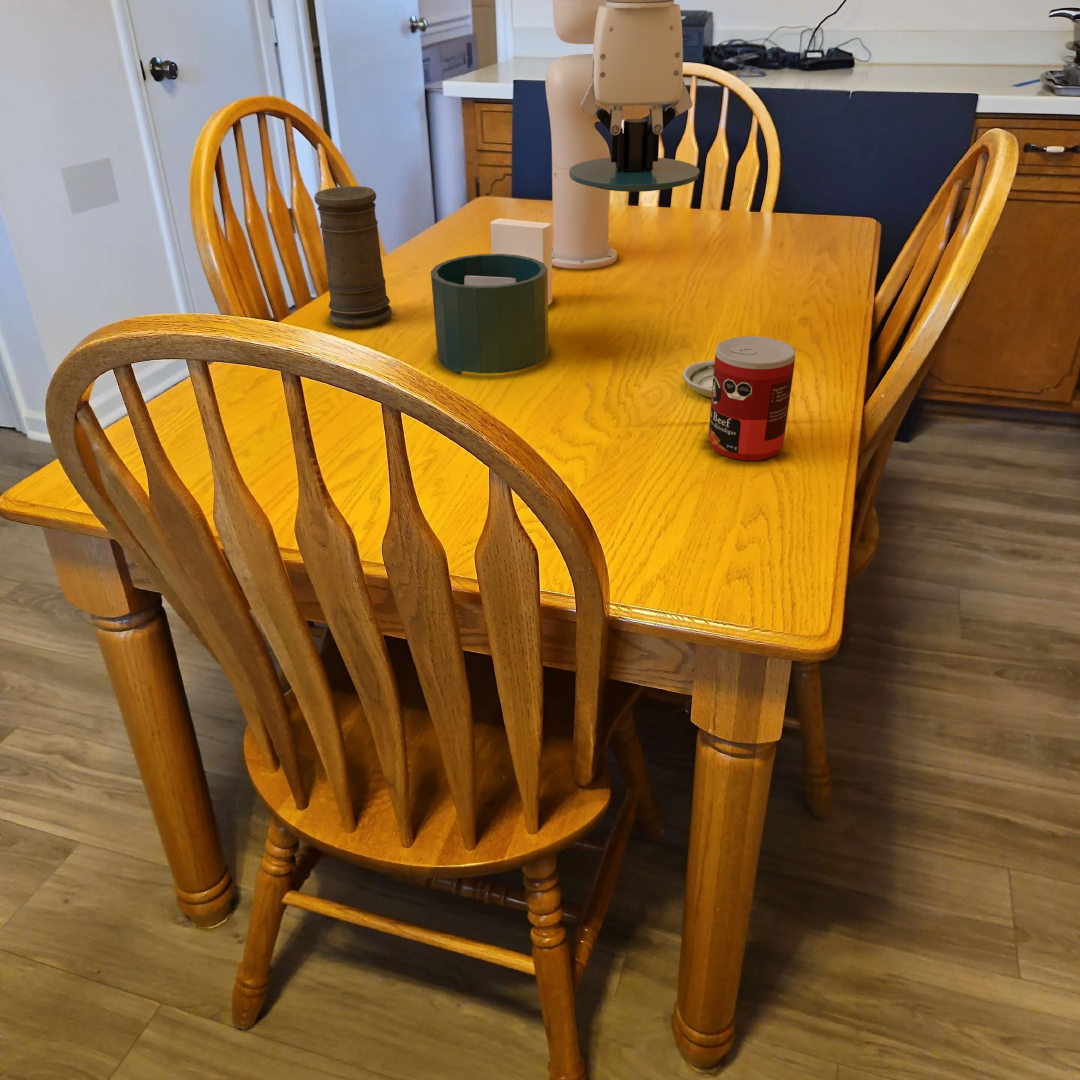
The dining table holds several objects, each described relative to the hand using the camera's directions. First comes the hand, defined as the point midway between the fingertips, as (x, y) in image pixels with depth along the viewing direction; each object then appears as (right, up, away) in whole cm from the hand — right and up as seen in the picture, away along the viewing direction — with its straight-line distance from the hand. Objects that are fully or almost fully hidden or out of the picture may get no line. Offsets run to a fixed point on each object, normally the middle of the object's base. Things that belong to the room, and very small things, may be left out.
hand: (633, 166), depth 111 cm
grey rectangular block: (-17, -20, +12) cm, 29 cm away
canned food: (+11, -35, -11) cm, 38 cm away
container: (-38, -12, +26) cm, 47 cm away
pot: (-18, -20, +12) cm, 30 cm away
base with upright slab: (-14, -9, +30) cm, 34 cm away
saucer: (+11, -27, +1) cm, 29 cm away
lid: (0, -1, 0) cm, 1 cm away
